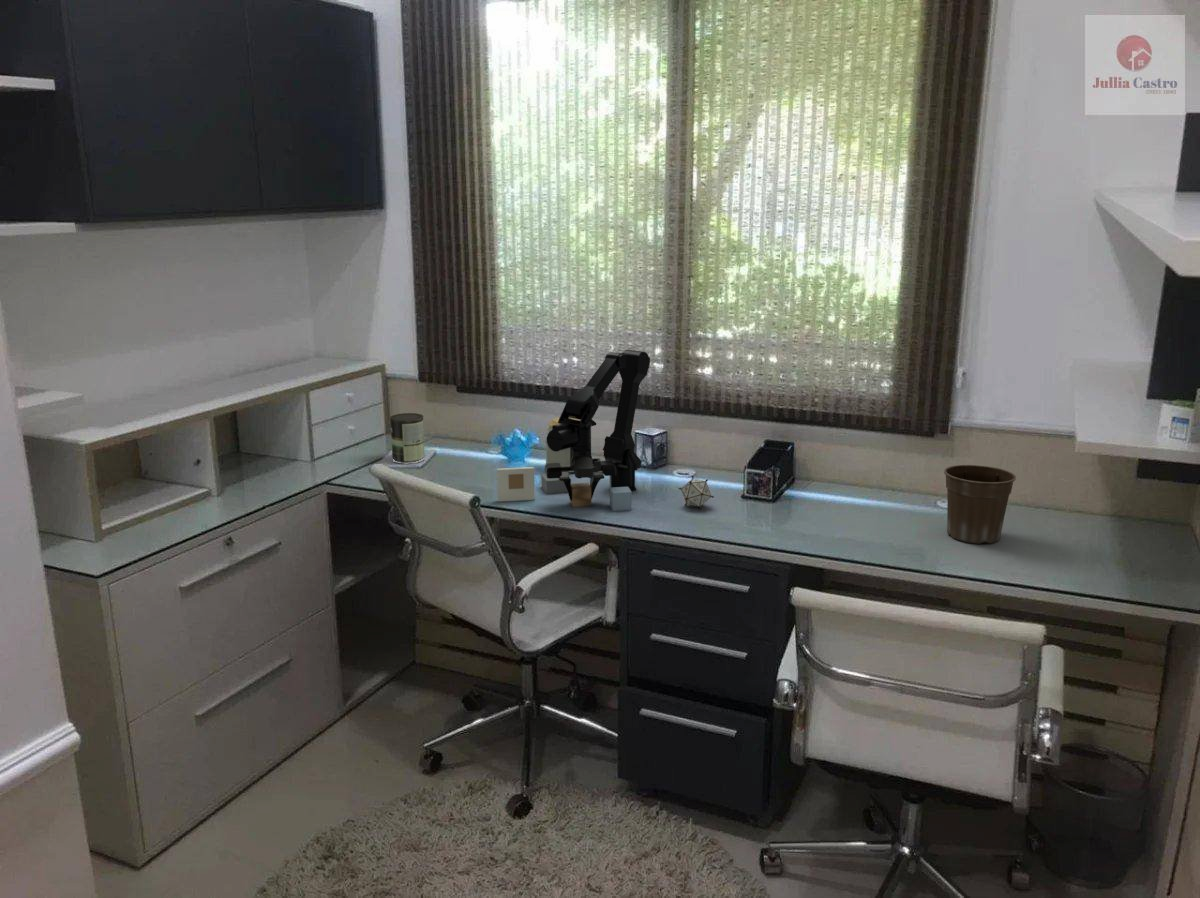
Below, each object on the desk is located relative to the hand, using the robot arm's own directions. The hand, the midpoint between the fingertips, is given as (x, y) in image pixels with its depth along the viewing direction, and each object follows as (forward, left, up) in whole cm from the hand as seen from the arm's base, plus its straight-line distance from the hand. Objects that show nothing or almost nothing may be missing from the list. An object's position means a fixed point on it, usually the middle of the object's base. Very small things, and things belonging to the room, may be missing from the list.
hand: (580, 499), depth 262 cm
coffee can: (+47, -53, -1) cm, 71 cm away
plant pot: (-91, +42, -1) cm, 100 cm away
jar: (-1, -35, -1) cm, 35 cm away
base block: (+5, -14, -1) cm, 15 cm away
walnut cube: (0, 0, -1) cm, 1 cm away
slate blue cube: (-10, +5, -1) cm, 11 cm away
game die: (-30, +8, -1) cm, 31 cm away
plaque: (+17, -6, -1) cm, 18 cm away
